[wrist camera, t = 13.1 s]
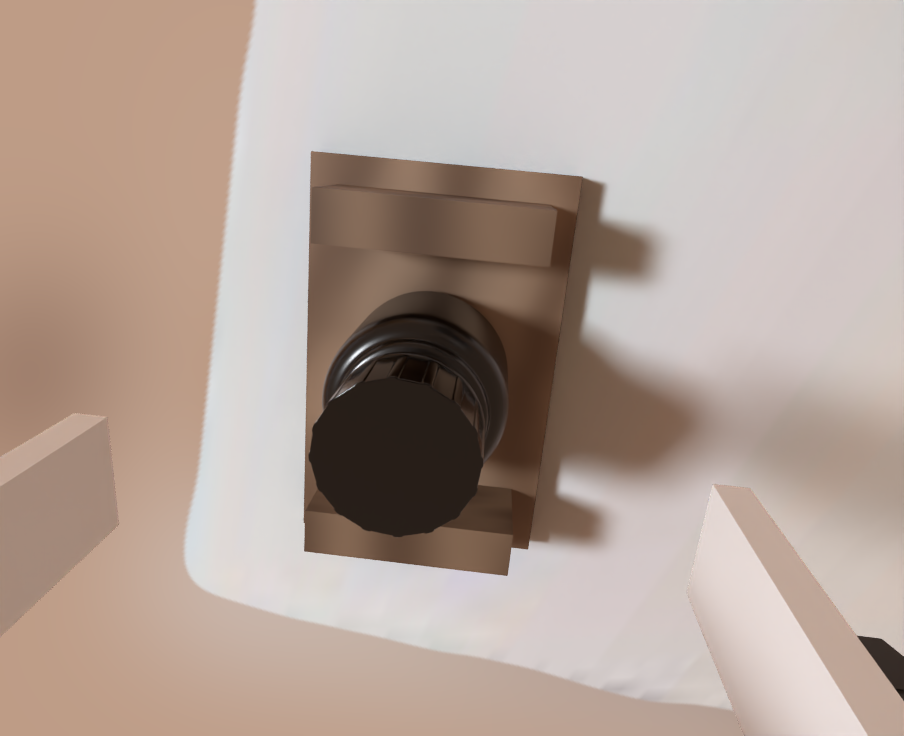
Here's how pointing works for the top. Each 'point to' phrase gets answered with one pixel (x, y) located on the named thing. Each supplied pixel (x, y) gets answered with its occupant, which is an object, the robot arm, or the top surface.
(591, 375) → the top surface
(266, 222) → the top surface
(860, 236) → the top surface
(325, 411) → the ink bottle
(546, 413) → the cradle
